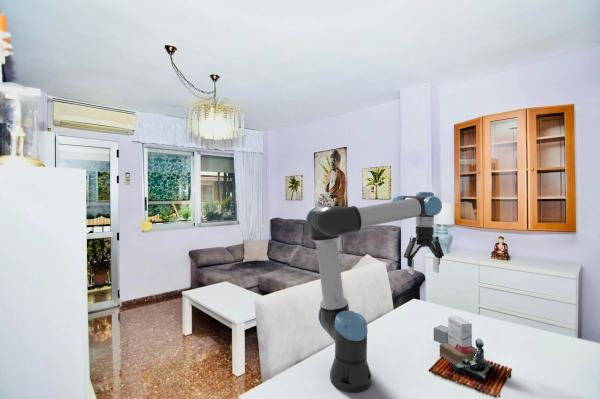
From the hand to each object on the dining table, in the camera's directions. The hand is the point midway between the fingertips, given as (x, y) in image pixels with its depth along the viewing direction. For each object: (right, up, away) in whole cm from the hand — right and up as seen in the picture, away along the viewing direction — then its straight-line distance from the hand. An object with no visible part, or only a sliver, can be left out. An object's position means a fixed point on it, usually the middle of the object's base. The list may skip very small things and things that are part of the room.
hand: (423, 272), depth 135 cm
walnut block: (+11, -34, -10) cm, 37 cm away
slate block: (+12, -34, +6) cm, 36 cm away
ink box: (+11, -29, -11) cm, 33 cm away
